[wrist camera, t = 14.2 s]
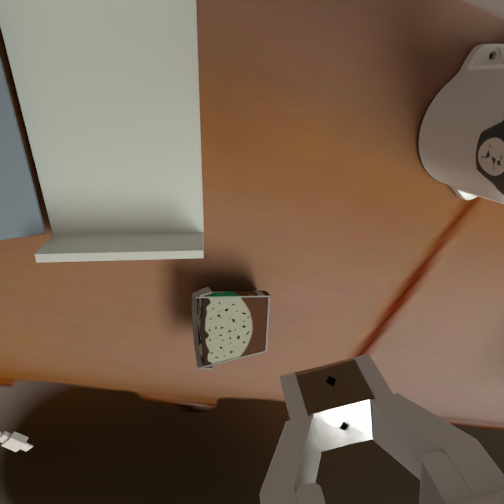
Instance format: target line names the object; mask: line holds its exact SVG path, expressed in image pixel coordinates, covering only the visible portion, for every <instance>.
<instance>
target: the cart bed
mask: <svg viewBox="0 0 504 504" xmlns="http://www.w3.org/2000/svg"><path fill="white" fill-rule="evenodd" d="M0 27H1V31H2V35H3V39H4V43H5V47H6V51H7V55H8V59H9V63H10V66H11V70H12V74H13V78H14V82H15V86H16V90H17V94H18V98H19V102H20V106H21V110H22V114H23V118H24V122H25V126H26V130H27V134H28V138H29V142H30V146H31V150H32V154H33V158H34V162H35V166H36V170H37V174H38V178H39V182H40V186H41V190H42V193H43V197H44V201H45V205H46V209H47V213H48V217H49V221H50V225H51V229H52V233H53V236H52V237H51V238H50V239H49V240H48V241H47V242H46V243H45V244H44V245H43V246H42V247H41V248H40V249H39V250H38V251H37V252H36V253H35V254H34V255H35V258H36V262H74V261H112V260H151V259H189V258H204V222H203V192H202V161H201V130H200V100H199V69H198V39H197V8H196V0H0Z"/></svg>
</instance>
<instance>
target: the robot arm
mask: <svg viewBox="0 0 504 504" xmlns="http://www.w3.org/2000/svg"><path fill="white" fill-rule="evenodd" d="M490 53H492V56H491V58H490V59H489V55H490ZM419 154H420V158H421V161H422V164H423V166H424V168H425V169H426V171H427V172H428V173H429V174H430V175H431V176H432V177H433V178H434V179H436V180H438V181H439V182H442V183H444V184H447V185H448V186H450V187H451V188H452V189H453V191H454V192H455V194H456V195H457V196H458V197H459V198H461V199H464V200H471V199H474V198H476V197H482V198H485V199H488V200H492V201H495V202H498V203H502V204H504V43H503V44H479V45H477V46H475V47H474V48H473V49H472V50H471V52H470V53H469V55H468V56H467V58H466V60H465V61H464V63H463V65H462V67H461V69H460V71H459V72H458V73H457V74H456V75H455V76H454V77H453V78H452V79H451V80H450V81H449V82H448V83H447V84H446V85H445V86H444V87H443V88H442V89H441V90H440V92H439V93H438V94H437V95H436V97H435V98H434V99H433V101H432V102H431V104H430V106H429V108H428V110H427V112H426V114H425V116H424V119H423V121H422V125H421V128H420V133H419ZM280 380H281V385H282V389H283V393H284V397H285V401H286V405H287V409H288V413H289V417H290V421H286V423H285V426H284V429H283V432H282V434H281V437H280V440H279V442H278V445H277V448H276V451H275V454H274V456H273V459H272V462H271V465H270V467H269V470H268V473H267V475H266V478H265V481H264V483H263V486H262V489H261V491H260V494H259V495H260V503H261V504H325V500H324V497H323V494H322V491H321V487H320V486H319V485H317V484H316V483H315V481H316V476H317V471H318V466H319V462H320V457H321V452H323V451H327V450H330V449H333V448H337V447H341V446H344V445H348V444H352V443H357V442H361V441H366V440H370V439H373V440H374V441H375V442H376V443H377V444H378V445H380V446H381V447H382V448H383V449H384V450H386V451H387V452H388V453H389V454H390V455H391V456H393V457H394V458H395V459H396V460H397V461H399V462H400V463H401V464H402V465H403V466H404V467H405V468H407V469H408V470H409V471H410V472H411V473H413V474H414V475H415V476H416V477H417V478H418V479H420V480H421V485H420V502H419V504H504V475H503V473H502V472H501V471H500V469H499V468H498V467H497V465H496V464H495V463H494V462H493V460H492V459H491V458H490V456H489V455H488V454H487V452H486V451H485V450H484V449H483V447H482V446H481V444H480V443H479V442H478V441H477V439H475V438H473V437H471V436H470V435H468V434H466V433H465V432H463V431H461V430H460V429H458V428H456V427H455V426H453V425H451V424H449V423H448V422H446V421H444V420H443V419H441V418H439V417H438V416H436V415H434V414H432V413H431V412H429V411H427V410H426V409H424V408H422V407H420V406H419V405H417V404H415V403H414V402H412V401H410V400H408V399H407V398H405V397H403V396H402V395H400V394H398V393H397V394H393V393H392V391H391V390H390V388H389V386H388V385H387V383H386V382H385V380H384V378H383V377H382V375H381V373H380V372H379V370H378V368H377V367H376V365H375V363H374V362H373V360H372V358H371V357H370V356H369V355H368V354H366V355H362V356H359V357H355V358H350V359H346V360H342V361H339V362H335V363H331V364H327V365H323V366H321V367H317V368H312V369H308V370H303V371H299V372H295V373H291V374H286V375H282V376H280Z"/></svg>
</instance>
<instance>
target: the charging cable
mask: <svg viewBox="0 0 504 504" xmlns="http://www.w3.org/2000/svg"><path fill="white" fill-rule="evenodd" d="M27 440H28V437H26V436H24V435H22V434H20V433H18V432H15V431H13V432H11V433H9V432H7V431H4V432H3V433H2V432H0V442H1V443H2V444H1V446H3V447H5V448H7V449H10V450H12V451H15V452H17V451H18V450H20V449H21V450H24V451H28V450H29V449H31V448H32V447H33V445H31V444H29V443H27Z"/></svg>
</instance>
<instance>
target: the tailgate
mask: <svg viewBox="0 0 504 504" xmlns="http://www.w3.org/2000/svg"><path fill="white" fill-rule="evenodd" d="M40 234H45V226H44V222H43V218H42V214H41V210H40V206H39V203H38V199H37V195H36V191H35V187H34V183H33V180H32V176H31V172H30V168H29V164H28V160H27V157H26V153H25V149H24V145H23V141H22V137H21V134H20V130H19V126H18V122H17V118H16V114H15V111H14V107H13V103H12V99H11V95H10V91H9V88H8V84H7V80H6V76H5V72H4V68H3V65H2V61H1V57H0V240H3V239H11V238H18V237H25V236H33V235H40Z"/></svg>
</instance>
